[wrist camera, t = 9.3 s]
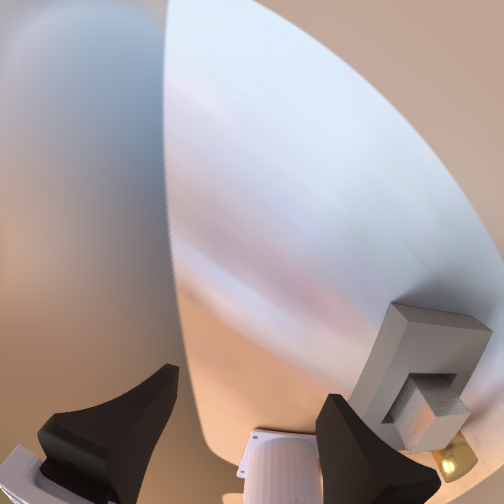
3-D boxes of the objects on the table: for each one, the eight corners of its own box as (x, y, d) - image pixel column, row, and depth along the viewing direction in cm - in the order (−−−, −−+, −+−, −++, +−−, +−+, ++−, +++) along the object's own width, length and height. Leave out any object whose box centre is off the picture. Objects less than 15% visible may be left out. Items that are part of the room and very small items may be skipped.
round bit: (443, 443, 25) (462, 478, 18) (420, 447, 25) (438, 485, 18) (461, 419, 24) (484, 454, 17) (437, 423, 24) (460, 462, 17)
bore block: (413, 426, 24) (423, 447, 20) (334, 428, 24) (339, 453, 20) (472, 315, 21) (492, 331, 17) (390, 302, 21) (408, 321, 17)
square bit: (416, 400, 22) (444, 448, 15) (383, 400, 22) (408, 453, 15) (435, 366, 21) (471, 412, 14) (402, 365, 21) (435, 416, 14)
